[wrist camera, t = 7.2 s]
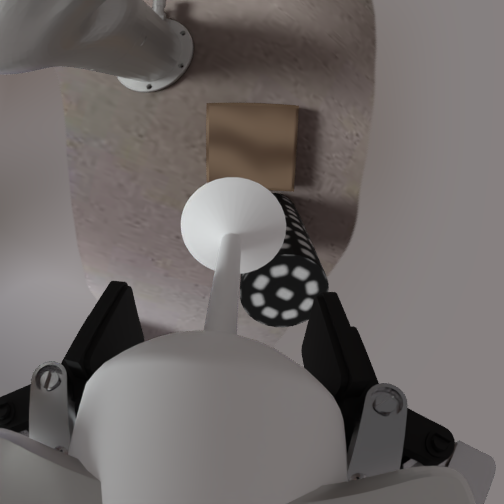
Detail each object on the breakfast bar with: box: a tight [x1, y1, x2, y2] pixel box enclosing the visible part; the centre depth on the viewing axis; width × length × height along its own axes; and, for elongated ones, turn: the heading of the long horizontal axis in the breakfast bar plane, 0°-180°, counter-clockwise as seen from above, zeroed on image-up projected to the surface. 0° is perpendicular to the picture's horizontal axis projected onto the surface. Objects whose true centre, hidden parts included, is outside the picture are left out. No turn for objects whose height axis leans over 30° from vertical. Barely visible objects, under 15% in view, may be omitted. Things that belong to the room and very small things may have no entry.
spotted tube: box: [240, 193, 328, 327], centre depth 34 cm, size 8×8×20 cm
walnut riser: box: [206, 103, 299, 191], centre depth 36 cm, size 12×12×4 cm
